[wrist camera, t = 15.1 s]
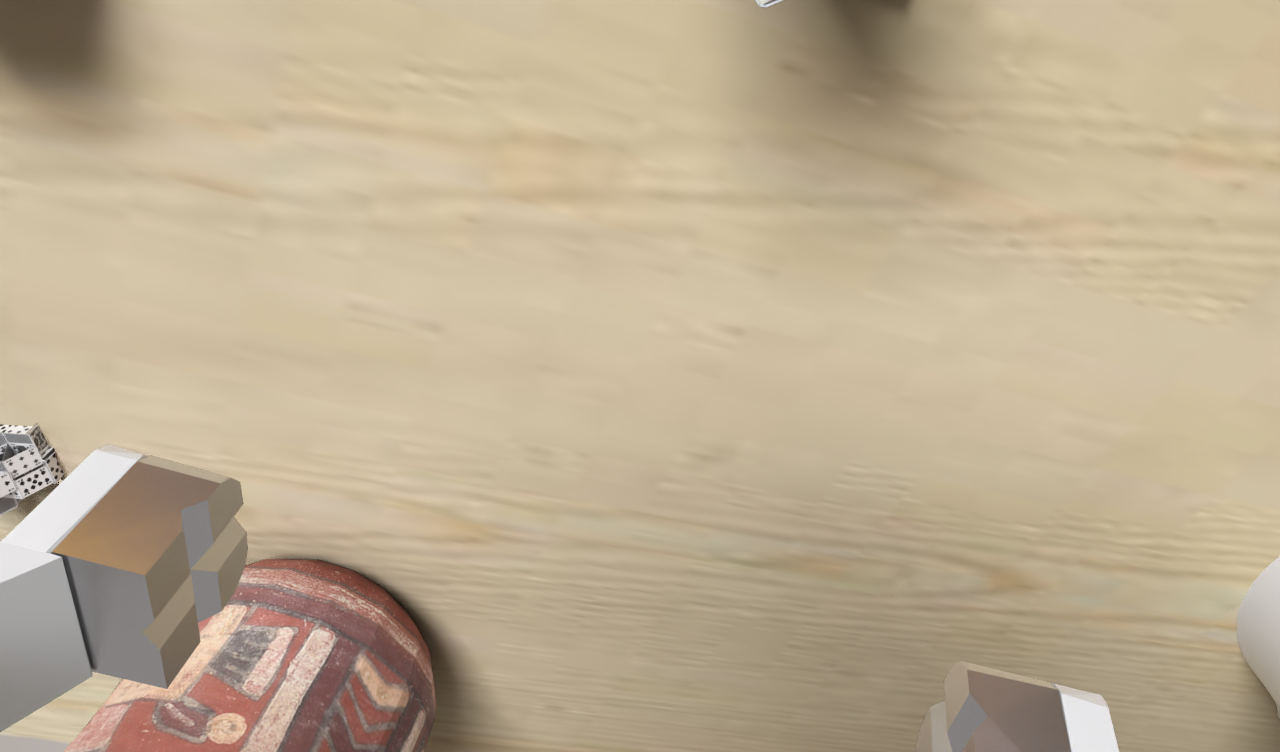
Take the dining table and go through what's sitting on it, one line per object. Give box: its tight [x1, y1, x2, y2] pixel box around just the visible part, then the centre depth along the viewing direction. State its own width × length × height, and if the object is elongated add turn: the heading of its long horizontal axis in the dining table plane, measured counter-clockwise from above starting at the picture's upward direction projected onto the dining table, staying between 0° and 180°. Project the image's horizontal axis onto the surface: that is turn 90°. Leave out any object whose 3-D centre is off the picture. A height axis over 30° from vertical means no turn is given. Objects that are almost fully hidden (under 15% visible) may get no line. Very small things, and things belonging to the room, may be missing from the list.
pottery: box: [64, 559, 436, 752], centre depth 55 cm, size 18×18×18 cm
